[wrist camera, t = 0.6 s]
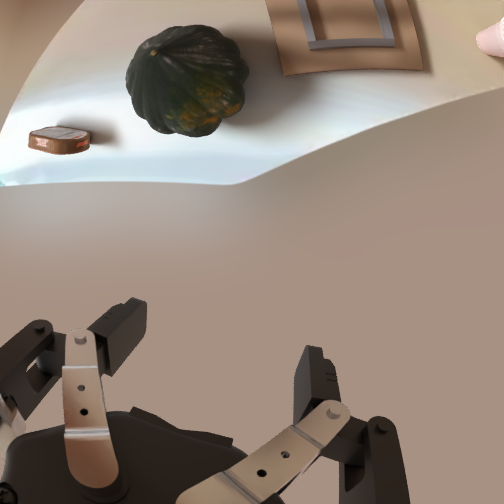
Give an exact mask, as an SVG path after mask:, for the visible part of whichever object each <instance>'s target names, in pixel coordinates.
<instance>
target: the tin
mask: <svg viewBox="0 0 504 504" xmlns="http://www.w3.org/2000/svg"><path fill="white" fill-rule="evenodd" d="M89 144H90V133H89V132H87V131H83V130H78V129H72V128H66V127H46V128H43V129H40V130H36V131H32V132H30V134H29V144H28V147H29V148H32V149H36V150H40V151H44V152H48V153H51V154H58V155H65V154H75V153H79V152H83V151H86V150H87V149H89V147H90V145H89Z"/></svg>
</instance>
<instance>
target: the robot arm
mask: <svg viewBox="0 0 504 504" xmlns="http://www.w3.org/2000/svg"><path fill="white" fill-rule="evenodd" d="M146 318H147V303H146V302H145V301H142V300H139V299H136V298H130V299H129V300H128V301H127V302H126V303H125V304H122V303H120V304H118V305H115V306H113V307H111V308H110V309H109V310H108V311H107V312H106V313H105V314H103V315H102V317H100V318H99V319H98V320H96V321H95V322H94V323H93V324H92V325H91V326H89V327H88V328H87V329H81V328H79V329H74V330H71V331H70V332H69V333H68V334H67V335H66V334H62V333H57V332H54V331H53V326H52V324H51V323H50V322H49V321H47V320H35V321H32V322H31V323H29V324H28V325H27V326H26V327H24V329H22V330H21V331H20V332H19V333H17V334H16V335H15V336H14V337H12V338H11V339H10V340H9V341H8V342H7V343H5V344H4V345H3V346H2V347H1V348H0V457H1V458H2V459H4V460H5V466H4V471H3V475H2V478H1V481H0V504H285V503H284V502H283V500H282V499H281V497H280V495H281V494H283V493H284V492H285V491H286V490H287V489H288V488H289V487H290V486H291V485H292V484H293V483H294V482H295V481H296V480H297V479H298V478H299V477H300V476H302V475H303V474H304V473H305V472H306V471H307V470H308V469H309V468H310V467H311V466H312V465H313V464H314V463H315V462H316V461H317V460H318V459H319V458H320V457H321V456H324V457H327V458H330V459H332V460H335V461H338V462H339V504H410V498H409V492H408V485H407V479H406V474H405V468H404V463H403V458H402V453H401V448H400V444H399V439H398V435H397V430H396V427H395V425H394V424H393V423H392V421H390V420H389V419H387V418H385V417H381V416H376V417H373V418H371V419H370V420H369V421H368V422H366V421H362V420H360V419H357V418H354V417H352V416H351V415H350V411H349V409H348V408H347V407H346V406H345V405H344V404H343V403H341V398H340V392H339V386H338V382H337V376H336V370H335V366H334V365H333V363H332V362H331V361H330V360H329V359H324V357H323V351H322V348H320V347H315V346H310V345H306V347H305V349H304V352H303V354H302V356H301V359H300V361H299V364H298V366H297V369H296V372H295V377H294V413H293V414H294V415H293V417H294V418H293V425H290V426H289V427H287V428H286V429H284V430H283V431H282V432H281V433H279V434H278V435H277V436H275V437H274V438H273V439H272V440H270V441H269V442H267V443H266V444H265V445H263V446H262V447H261V448H259V449H258V450H256V451H255V452H253V453H252V454H251V455H249V456H248V455H247V454H246V453H244V452H243V451H242V450H240V449H238V448H236V447H234V446H232V442H233V438H229V437H225V436H221V435H217V434H212V433H209V432H201V431H190V430H182V429H178V428H176V427H175V426H173V425H171V424H169V423H168V422H166V421H164V420H163V419H161V418H159V417H158V416H156V415H154V414H151V413H149V412H146V411H143V410H141V409H139V408H136V407H133V408H132V409H131V411H130V412H123V411H111V412H107V409H106V404H105V399H104V393H103V388H102V382H101V376H102V375H103V374H104V373H105V374H107V375H109V376H111V377H112V376H113V374H114V373H115V372H116V371H117V370H118V368H119V367H120V366H121V365H122V363H123V362H124V361H125V360H126V358H127V357H128V356H129V355H130V353H131V352H132V351H133V350H134V348H135V347H136V346H137V345H138V343H139V342H140V341H141V340H142V338H143V337H144V334H145V332H146V320H147V319H146ZM34 360H36V363H35V364H34V365H33V366H32V367H31V368H30V369H29V370H28V371H27V372H26V370H27V367H28V366H29V365H30V364H31V363H32V362H33V361H34ZM60 377H62V386H63V387H62V389H63V409H64V422H65V424H64V425H60V426H56V427H52V428H48V429H44V430H39V431H35V432H30V433H26V434H24V432H25V430H26V424H25V421H26V420H27V418H28V417H29V416H30V414H31V413H32V412H33V411H34V409H35V408H36V407H37V405H38V404H39V403H40V402H41V400H42V399H43V398H44V397H45V396H46V394H47V393H48V392H49V391H50V389H51V388H52V387H53V386H54V384H55V383H56V382H57V381H58V379H60Z"/></svg>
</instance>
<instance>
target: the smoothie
mask: <svg viewBox="0 0 504 504" xmlns="http://www.w3.org/2000/svg"><path fill="white" fill-rule="evenodd" d="M476 41H477V44H478V46H479V48H480V49H481V50H482V51H483V52H484V53H485V54H487V55H492V56H498V57H504V17H503V18H502V19H501V21H500V22H498V23H496V24H494V25H492V26H490V27H488V28H487V29H485V30H483V31H481V32H479V33H478V34H477V36H476Z"/></svg>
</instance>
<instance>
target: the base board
mask: <svg viewBox="0 0 504 504" xmlns="http://www.w3.org/2000/svg"><path fill="white" fill-rule="evenodd" d="M265 2H266V5H267V9H268V12H269V16H270V20H271V24H272V28H273V32H274V36H275V40H276V44H277V48H278V52H279V57H280V61H281V65H282V70H283V75H285V76H289V75H296V74H304V73H312V72H323V71H335V70H353V69H402V70H424V69H423V63H422V58H421V53H420V48H419V43H418V39H417V35H416V30H415V27H414V23H413V19H412V16H411V12H410V9H409V5H408V2H407V0H265Z"/></svg>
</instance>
